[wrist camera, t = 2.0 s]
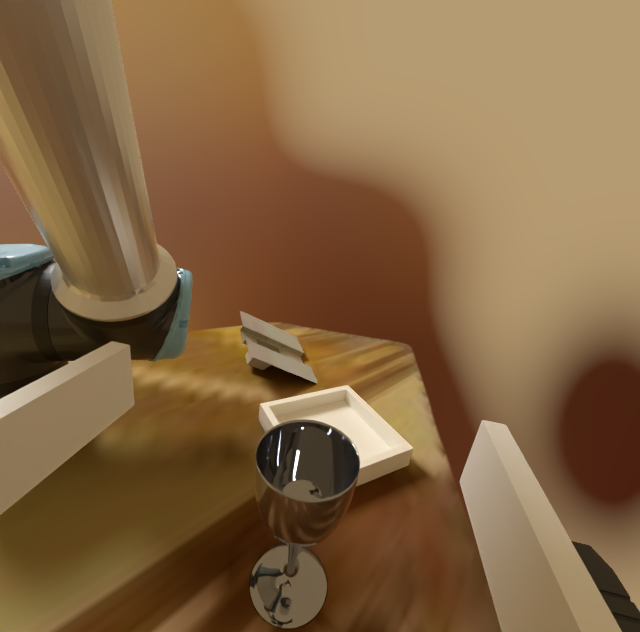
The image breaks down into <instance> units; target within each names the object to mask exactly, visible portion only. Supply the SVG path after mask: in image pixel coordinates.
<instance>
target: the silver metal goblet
mask: <svg viewBox="0 0 640 632" xmlns="http://www.w3.org/2000/svg"><path fill="white" fill-rule="evenodd" d="M359 470H360V458H359V454H358V451H357V449H356V447H355V445H354V444H353V442H352V441H351V440H350V439H349V437H347V436H346V435H345V434H344V433H343V432H341V431H340V430H338V429H337V428H335V427H333V426H331V425H329V424H326V423H323V422H319V421H315V420H307V419H298V420H290V421H286V422H283V423H280V424H278V425H276V426H274V427H273V428H271V429H270V430H268V431H267V432H266V433H265V434H264V435H263V437H262V438H261V439H260V441H259V443H258V446H257V450H256V455H255V468H254V488H255V496H256V501H257V506H258V510H259V514H260V516H261V519H262V521H263V523H264V525H265V527H266V528H267V530H268V531H269V532H270V533H271V534H272V535H273V536H274V537H275V538H277V539H278V540H280V541H281V542H282V543H278V544H276V545H273V546H271V547H270V548H268V549H267V550H266V551H265V552H264V553H262V554H261V556H260V557H259V558H258V560H257V561H256V563H255V565H254V567H253V570H252V572H251V577H250V596H251V600H252V603H253V605H254V607H255V609H256V611H257V612H258V614H259V615H260V616H261V617H262V618H263V619H264V620H265V621H266V622H267V623H269V624H271V625H273V626H275V627H278V628H281V629H294V628H298V627H301V626H304V625H305V624H307V623H308V622H310V621H311V620H312V619H313V618H314V617H316V615H317V614H318V613H319V611H320V610H321V608H322V606H323V604H324V601H325V598H326V594H327V576H326V572H325V569H324V566H323V564H322V562H321V560H320V559H319V557H318V556H317V555H316V554H315V553H314V552H313V551H312V550H311V549H309V548H308V547H307V546H311V545H315V544H318V543H320V542H322V541H324V540H325V539H326V538H328V537H329V536H330V535H331V534H332V533H333V532H334V531H335V530H336V528H337V527H338V526H339V524H340V522H341V521H342V519H343V517H344V516H345V514H346V512H347V510H348V508H349V506H350V503H351V501H352V498H353V494H354V491H355V488H356V484H357V480H358V476H359Z"/></svg>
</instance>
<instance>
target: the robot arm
mask: <svg viewBox="0 0 640 632" xmlns="http://www.w3.org/2000/svg"><path fill="white" fill-rule="evenodd" d="M0 163H1V165H2V166H3V168H4V170H5V172H6V173H7V175H8V177H9V179H10V180H11V182H12V184H13V186H14V188H15V189H16V191H17V193H18V195H19V196H20V198H21V200H22V202H23V203H24V205H25V207H26V208H27V211H28V212H29V214H30V216H31V218H32V219H33V221H34V223H35V225H36V226H37V228H38V230H39V232H40V233H41V235H42V237H43V239H44V240H45V242H46V244H47V246H48V248H47V247H46V246H39V245H36V244H5V245H0V515H1V514H2V513H3V512H5V511H6V510H7V509H8V508H10V507H11V506H12V505H13V504H14V503H16V502H17V501H18V500H19V499H20V498H22V497H23V496H24V495H25V494H27V493H28V492H29V491H30V490H31V489H33V488H34V487H35V486H36V485H38V484H39V483H40V482H41V481H42V480H44V479H45V478H46V477H47V476H48V475H50V474H51V473H52V472H53V471H55V470H56V469H57V468H58V467H59V466H61V465H62V464H63V463H64V462H65V461H67V460H68V459H69V458H70V457H72V456H73V455H74V454H75V453H76V452H78V451H79V450H80V449H81V448H83V447H84V446H85V445H86V444H87V443H89V442H90V441H91V440H92V439H93V438H95V437H96V436H97V435H98V434H100V433H101V432H102V431H103V430H104V429H106V428H107V427H108V426H109V425H111V424H112V423H113V422H114V421H115V420H117V419H118V418H119V417H120V416H121V415H123V414H124V413H125V412H126V411H128V410H129V409H130V408H131V407H132V406H134V392H133V379H132V366H131V360H149V361H156V360H161V359H174V358H177V357H179V356H180V355H181V354H182V353H183V352H184V350H185V346H186V339H187V331H188V321H189V314H190V304H191V294H192V278H193V277H192V274H191V272H190V271H188V270H183V269H182V268H176V265H175V262H174V260H173V258H172V257H171V255H170V254H169V253H168V252H167V251H166V250H165V249H164V248H163V247H161V246H160V245H158V244H157V241H156V237H155V231H154V226H153V220H152V215H151V209H150V204H149V199H148V193H147V189H146V184H145V178H144V172H143V167H142V162H141V156H140V151H139V146H138V140H137V135H136V130H135V125H134V119H133V114H132V109H131V103H130V98H129V93H128V88H127V82H126V77H125V72H124V66H123V61H122V55H121V50H120V45H119V39H118V34H117V29H116V24H115V18H114V13H113V7H112V2H111V0H0ZM53 258H55V260H56V262H54V261H53ZM68 361H73V362H71V363H69V364H68ZM460 485H461V488H462V492H463V496H464V499H465V503H466V506H467V510H468V513H469V517H470V520H471V524H472V527H473V531H474V535H475V538H476V542H477V545H478V549H479V552H480V556H481V559H482V563H483V567H484V570H485V574H486V577H487V581H488V584H489V588H490V591H491V595H492V599H493V602H494V606H495V609H496V613H497V616H498V620H499V623H500V627H501V630H502V632H640V612H639V610H638V609H637V608H636V606H635V604H634V603H633V602H631V601H630V596H629V594H628V593H627V591H626V590H625V588H624V587H623V585H622V583H621V582H620V580H619V579H618V577H617V575H616V574H615V572H614V571H613V570H612V568H610V566H609V565H608V564H607V563H606V562H605V561H604V560H603V559H602V558H601V557H600V556H599V555H598V554H597V553H596V552H595V550H593V548H592V547H591V546H589V545H585V544H581V543H577V542H573V541H571V540H570V538H569V537H568V535H567V533H566V531H565V529H564V528H563V526H562V524H561V522H560V520H559V519H558V517H557V515H556V513H555V512H554V510H553V508H552V506H551V505H550V503H549V501H548V499H547V497H546V496H545V494H544V492H543V490H542V488H541V487H540V485H539V483H538V481H537V480H536V478H535V476H534V474H533V472H532V471H531V469H530V467H529V465H528V463H527V462H526V460H525V458H524V456H523V454H522V453H521V451H520V449H519V447H518V446H517V444H516V442H515V440H514V439H513V437H512V435H511V433H510V432H509V430H508V428H507V426H506V425H504V424H499V423H495V422H490V421H486V420H482V422H481V424H480V427H479V430H478V433H477V435H476V438H475V441H474V443H473V446H472V449H471V452H470V454H469V457H468V460H467V462H466V465H465V468H464V470H463V473H462V476H461V479H460Z"/></svg>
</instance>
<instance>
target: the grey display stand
mask: <svg viewBox="0 0 640 632" xmlns="http://www.w3.org/2000/svg"><path fill="white" fill-rule="evenodd" d="M240 314H241V319H242V323H243V327H242V328H241V331H240V332H241V337H242V342H243V343H244V344H246V345H247V347H248V352H247V354H246V355H245V357H246V362H247V365H250V366H252V367H255V368H258V369H260V370H264V369H266V368H267V367H269V366H270V365H273V366H275V367H278V368H280V369H282V370H285V371H287V372H289V373H292V374H295V375H297V376H300V377H302V378H305V379H307V380H310V381H312V382H314V383H317V379H316V377H315V375H314V372H313V371H312V369H311V367H310V366H309V365H306V364H304V363H303V361H302V359H301V356H302V355H303V354H304V351H303V349H302V348H301V345H300V344H299V341H298V339H297V337H295V336H294V335H292V334H290V333H287V332H285V331H283V330H280V329H278V328H276V327H275V326H272V325H270V324H268V323H266V322H264V321H262V320H260V319H257V318H255V317H253V316H251V315H249V314H247V313H244V312H242V311H240ZM317 384H318V383H317Z"/></svg>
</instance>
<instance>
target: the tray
mask: <svg viewBox="0 0 640 632" xmlns="http://www.w3.org/2000/svg"><path fill="white" fill-rule="evenodd" d="M298 419H307V420H315V421H319V422H323V423H326V424H329V425H331V426H333V427H335V428H337V429H338V430H340V431H341V432H343V433H344V434H345V435H346V436H347V437H349V439H350V440H351V441H352V442H353V444H354V445H355V447H356V449H357V451H358V454H359V458H360V470H359V476H358V480H357V484H356V487H357V486H359V485H362V484H364V483H367V482H369V481H371V480H374V479H376V478H379V477H381V476H384V475H386V474H388V473H391V472H393V471H396V470H398V469H401V468H403V467H406V466H408V465H409V462H410V459H411V455H412V452H413V447H412V446H411V445H410V444H409V443H408V442H407V441H405V440H404V439H403V438H402V437H401V436H400V435H399V434H398V433H397V432H396V431H395V430H394V429H393V428H392V427H391V426H390V425H389V424H388V423H387V422H386V421H385V420H384V419H382V418H381V417H380V416H379V415H378V414H377V413H376V412H375V411H374V410H373V409H372V408H371V407H370V406H369V405H368V404H367V403H366V402H365V401H364V400H363V399H362V398H361V397H360V396H358V395H357V394H356V393H355V392H354V391H353V390H352V389H351V388H350V387H349V386H348V385H346V386H341V387H336V388H332V389H327V390H322V391H318V392H313V393H308V394H304V395H299V396H294V397H289V398H285V399H280V400H275V401H271V402H266V403H261V404H260V410H259V422H260V423H261V425H262V427H263V429H264V431H265V432H267V431H268V430H270V429H271V428H273V427H274V426H276V425H278V424H280V423H283V422H286V421H290V420H298Z"/></svg>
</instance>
